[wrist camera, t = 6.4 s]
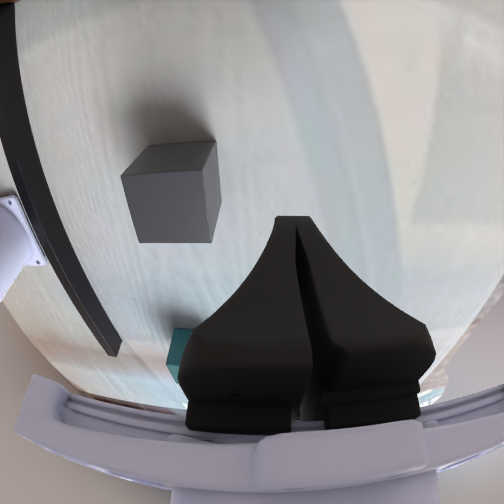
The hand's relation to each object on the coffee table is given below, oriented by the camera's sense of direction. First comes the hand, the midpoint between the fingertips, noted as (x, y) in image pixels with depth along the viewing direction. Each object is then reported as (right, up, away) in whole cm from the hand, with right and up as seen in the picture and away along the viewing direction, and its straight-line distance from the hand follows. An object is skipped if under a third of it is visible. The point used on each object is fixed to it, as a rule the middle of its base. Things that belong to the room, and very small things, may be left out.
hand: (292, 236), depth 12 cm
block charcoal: (-6, +4, +7) cm, 10 cm away
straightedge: (-18, +4, +8) cm, 20 cm away
